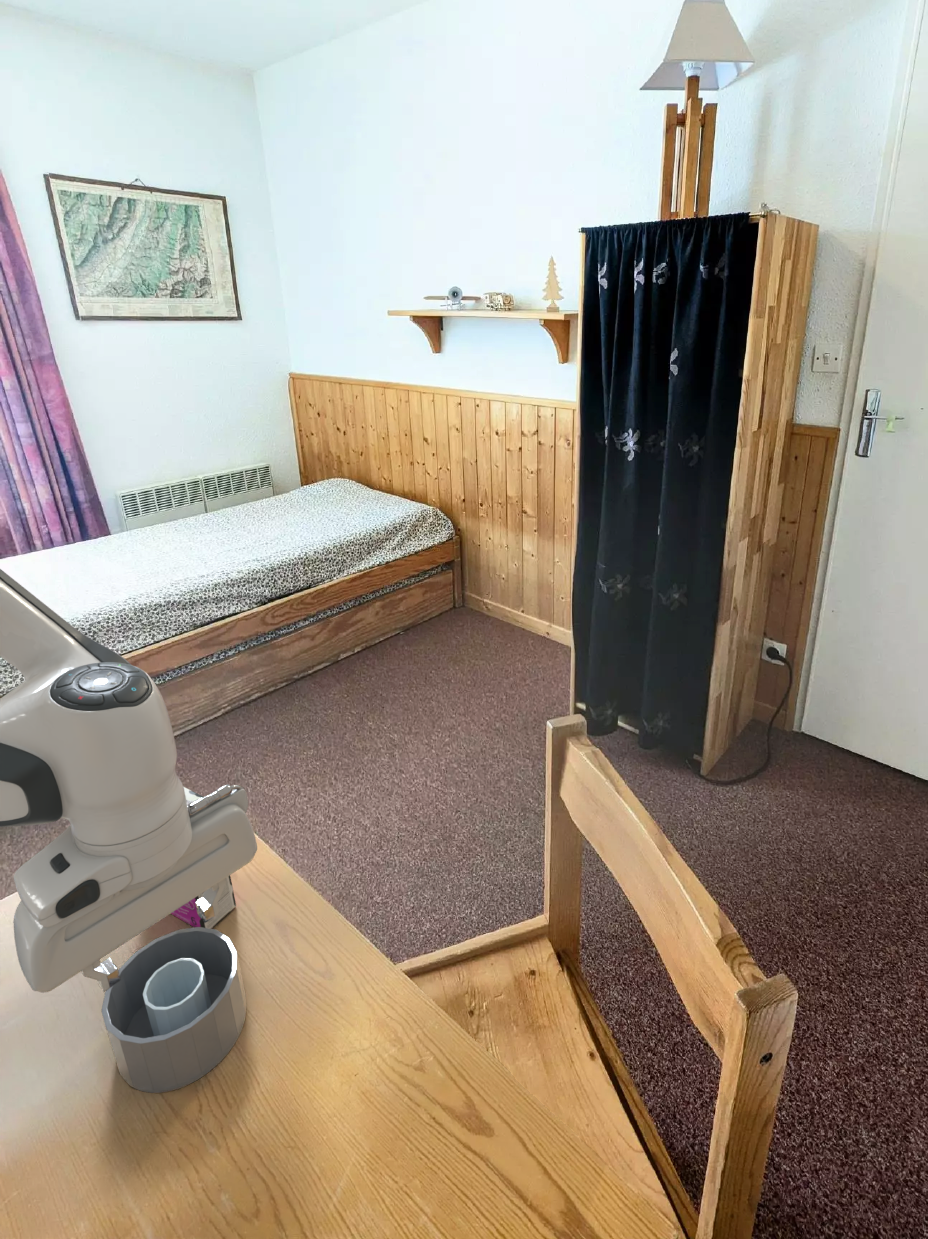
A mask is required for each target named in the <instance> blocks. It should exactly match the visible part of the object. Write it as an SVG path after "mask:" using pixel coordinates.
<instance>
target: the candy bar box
mask: <svg viewBox="0 0 928 1239" xmlns="http://www.w3.org/2000/svg"><path fill="white" fill-rule="evenodd" d="M183 787H184V791H185V796H186V802H187V805H188V804H190V803H192V802H194V801H196V800H197V799H200V798H202V797H204V796H203V795H201V794H200V793H198V792H195V791H193V790H191V789H189V788H187V787H185V786H183ZM225 879H226V885H225V888H224V890H223V892H222V895H221V897H220V899H219V901H218V908H219V914H218V915H216V916H215V917H213V918H212V919H210V920H209V921H207V922H206V923H204V922H203V919H201V918H200V917H199V915H198V913H197V907H196V904H195V902H196V901H197V900H199V899H200V898H202V897H203V893H204V892H203V893H202V894H200V895H199V896H197V897H195V898H194V899H192V900H191V901H189V902H188V903H186V904H185V905H183V906H182V907H180V908H178V909H177V910H175V911H174V912H172V913H171V914H170V915H172V916H174V917H176V918H177V919H179V920H180V921H182V922H183V923H185V924H187V925H189V926H190V927H191V928H194V927H203V928H209V929H214V928H215V927H216V926H217V925H218V924H219V923H220V922H221V921H222V920H223V919H224V918H225V917H226V916H227V915H229V914H230V913H231V912H232V911H233V910H234V909H235V908H236V907H237V902H236V898H235V892H234V887H233V883H232V882H233V881H232V877H231V875H229V876H228V877H226V878H225Z"/></svg>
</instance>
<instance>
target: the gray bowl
mask: <svg viewBox="0 0 928 1239" xmlns="http://www.w3.org/2000/svg"><path fill="white" fill-rule="evenodd" d="M180 958H193V959H195V960H197V961H198V962H200V963H201V964H202V967H203V970H204V973H205V978H206V982H207V987H208V991H209V996H210V1000H211V1007H210V1008H209V1009H207V1010H206V1011H205V1012H203V1013H202V1014H201V1015H200V1016H198V1017H197V1018H196V1019H195V1020H193V1021H192V1022H191V1023H189V1024H188V1025H185V1026H183V1027H181V1028H179V1029H177V1030H175V1031H173V1032H170V1033H168V1034H166V1035H160V1036H154V1035H153V1031H152V1028H151V1024H150V1020H149V1017H148V1013H147V1009H146V1005H145V1002H144V998H143V992H144V988H145V985H146V982H147V981H148V980H149V979H150V977H151V976H152V975H153V974H154V972H155V971H156V970H158V969H159V968H161V967H162V966H164V965H165V964H166V963H168V962H171V961H174V960H177V959H180ZM118 971H119V976H120V978H121V981H119V982H118V983H116V984H115V985H113V986H112V987H111V988H109V989H108V990H106V991H105V992H104V996H103V1001H102V1006H101V1010H100V1011H101V1015H102V1018H103V1023H104V1027H105V1029H106V1033H107V1037H108V1039H109V1043H110V1046H111V1049H112V1053H113V1056H114V1059H115V1064H116V1066H117V1070H118V1072H119V1075H120V1076H121V1078H122V1079H123V1080H124V1082H125V1083H126V1084H128V1086H130V1087H132V1088H133V1089H135V1090H137V1091H140V1092H144V1093H151V1094H159V1093H160V1094H162V1093H166V1092H173V1091H175V1090H179V1089H181V1088H184V1087H186V1086H189V1085H191V1084H193V1083H194V1082H196V1081H198V1080H199V1079H201V1078H203V1077H204V1076H206V1075H207V1074H208V1073H210V1072H211V1071H212V1070H213V1069H214V1068H216V1067H217V1066H218V1065H219V1064H220V1063H221V1062H222V1061H223V1060H224V1058H225V1057H226V1056H227V1055H228V1054H229V1053H230V1051H231V1050H232V1049H233V1047H234V1046H235V1045H236V1042H237V1041H238V1039H239V1038H240V1036H241V1032H242V1031H243V1027H244V1024H245V1020H246V1016H247V999H246V998H247V997H246V995H247V994H246V991H245V990H246V989H245V986H244V981H243V980H244V979H243V976H242V970H241V964H240V959H239V954H238V951H237V949H236V947H235V946H234V943H233V941H232V939H231V938H230V937H229V936H227V935H226V934H224V933H222V932H221V931H220V930H218V929H215V928H212V929H209V928H203V927H189V928H182V929H177V930H174V931H171V932H168V933H167V934H164V935H161V936H159V937H157V938H155V939H153V940H151V941H150V942H149V943H147V944H146V945H144V946H143V947H141V948H139V949H138V950H137V951H135V952H134V953H133V954H132V955H131V956H130V957H129V958H128V959H127V960H126V961H125V962H124V963H123V964H122V965H121V966H120V967H119V968H118Z"/></svg>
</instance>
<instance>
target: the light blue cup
mask: <svg viewBox="0 0 928 1239" xmlns="http://www.w3.org/2000/svg"><path fill="white" fill-rule="evenodd" d="M143 998H144V1002H145V1005H146V1009H147V1013H148V1017H149V1020H150V1024H151V1028H152V1031H153V1035H154V1036H160V1035H166V1034H168V1033H170V1032H173V1031H175V1030H177V1029H179V1028H181V1027H183V1026H185V1025H188V1024H189V1023H191V1022H192V1021H193V1020H195V1019H196V1018H197V1017H198V1016H200V1015H201V1014H202V1013H203V1012H205V1011H206V1010H207V1009H209V1008H210V1007H211V1000H210V996H209V991H208V987H207V982H206V978H205V973H204V970H203V967H202V964H201V963H200V962H198V961H197V960H195V959H193V958H180V959H177V960H174V961H171V962H168V963H166V964H165V965H164V966H162V967H161V968H159V969H158V970H156V971H155V972H154V974H153V975H152V976H151V977H150V979H149V980H148V981H147V982H146V985H145V988H144V992H143Z"/></svg>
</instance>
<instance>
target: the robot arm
mask: <svg viewBox="0 0 928 1239" xmlns="http://www.w3.org/2000/svg"><path fill="white" fill-rule="evenodd" d="M0 658H2V659H3V660H4V661H5V662H7V663H9V665H11V666H12V667H14V668H15V669H17V670H18V671H19V672H20V673H21V674H22V676H23V678H24V681H23V682H21V683H20V684H19V685H17V686H16V687H14V688H13V689H12V690H10V691H9V692H8V693H6V694H5V695H3V696H2V697H0V828H1V827H2V828H3V827H4V828H6V827H8V828H9V827H26V826H27V827H28V826H38V825H46V824H51V823H55V822H57V821H59V820H60V819H65V820H67V821H68V822H69V824H70V825H69V826H68V827H67V828H66V829H65V830H63V831H62V832H61V833H60V834H59V835H58V836H57V837H56V838H55V839H53V840H52V841H51V842H50V843H48V844H47V845H46V846H45V847H43V848H42V849H41V850H40V851H38V852H37V853H35V855H33V856H32V857H31V858H30V859H28V860H27V861H26V862H24V863H23V864H22V865H21V866H20V867H19V868H18V869H17V870H16V871H15V873H14V875H13V882H14V886H15V889H16V892H17V894H18V896H19V899H20V901H19V903H18V904H17V906H16V909H15V912H14V915H13V937H14V944H15V950H16V955H17V960H18V963H19V966H20V969H21V973H22V974H23V976H24V978H25V981H26V982H27V983H28V985H29V987H30V989H31V990H32V991H33V992H37V993H49V992H52V991H54V990H55V989H56V988H59V986H62V984H64V983H66V982H67V981H68V980H70V979H72V978H73V977H75V976H77V975H78V974H79V973H81V974H82V975H83V977H85V978H88V979H91V980H94V981H96V983H97V985H98V986H99V988H100V989H101V990H102V992H103V993H105V991H106V990H108V989H109V988H111V987H112V986H113V985H115V984H116V983H118V982H119V981H121V978H120V976H119V971H118V969H119V968H118V967H117V965H116V964H114V961H113V959H112V958H111V957H108V958H106V959H105V960H103V961H101V959H103V958H104V957H106V956H107V955H109V954H111V953H112V952H114V951H115V950H117V949H118V948H119V947H121V946H123V945H124V944H126V943H127V942H129V941H131V940H132V939H134V938H135V937H137V936H138V935H140V934H142V933H143V932H144V931H146V930H147V929H149V928H151V927H152V926H155V924H157V923H158V922H160V921H162V920H164V919H165V918H166V917H168V916H169V915H172V914H171V913H172V912H174V911H175V910H177V909H178V908H180V907H182V906H183V905H185V904H186V903H188V902H189V901H191V900H192V899H194V898H195V897H197V896H199V895H200V894H202V893H203V892H204V893H203V897H202V898H200V899H199V900H197V901H196V902H195V904H196V907H197V913H198V915H199V917H200V918H201V919H203V922H204V923H206V922H207V921H209V920H210V919H212V918H213V917H215V916H216V915H218V914H219V908H218V901H219V899H220V897H221V895H222V892H223V890H224V888H225V885H226V879H225V878H226V877H228V876H229V875H230V876H232V874H234V873H236V872H237V871H239V870H240V869H242V868H243V867H245V866H247V865H248V864H250V863H251V862H252V861H253V859H254V857H255V856H256V854H257V852H258V843H257V839H256V835H255V831H254V829H253V826H252V822H251V821H250V818H249V817H248V815H247V811H248V808H249V800H248V793H247V791H246V789H245V787H243V786H242V785H240V784H233V785H231V784H229V783H228V784H225V785H222V786H220V787H218V788H216V789H215V790H214V791H212V792H211V793H208V794H207V795H205V796H203V797H202V798H200V799H197V800H196V801H194V802H192V803H190V804H188V805H187V802H186V796H185V791H184V787H185V786H184V784H183V782H182V780H181V779H180V778H179V776H178V774H177V772H176V765H177V760H178V752H177V745H176V739H175V735H174V730H173V726H172V723H171V718H170V716H169V711H168V708H167V705H166V702H165V700H164V697H163V695H162V693H161V691H160V689H159V688H158V686H157V684H156V683H155V681H154V680H153V678H151V676H150V675H149V674H148V673H147V672H146V671H145V670H143V669H142V668H141V667H138V666H135V665H133V664H131V663H130V661H128V660H127V659H126V658H125V657H123V656H122V655H120V654H119V653H118V652H115V651H114V650H112V649H110V648H108V647H106V646H105V645H103V644H101V643H99V642H98V641H95V640H94V639H92V638H90V637H89V636H87V635H86V634H84V633H83V632H81V631H80V630H78V629H77V628H75V627H74V626H73V625H71V624H70V623H69V622H68V621H66V620H65V619H64V618H63V617H62V616H60V615H59V614H58V613H56V612H55V611H54V609H52V608H50V607H49V606H48V605H46V604H45V603H44V602H43V601H42V600H40V599H39V598H37V597H36V596H35V595H34V594H33V593H32V592H30V591H29V590H28V589H26V588H25V587H24V586H23V585H22V584H20V583H19V582H18V581H16V580H15V579H14V578H13V577H11V576H10V575H9V574H8V573H7V572H5V571H4V570H3V569H1V568H0Z"/></svg>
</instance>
